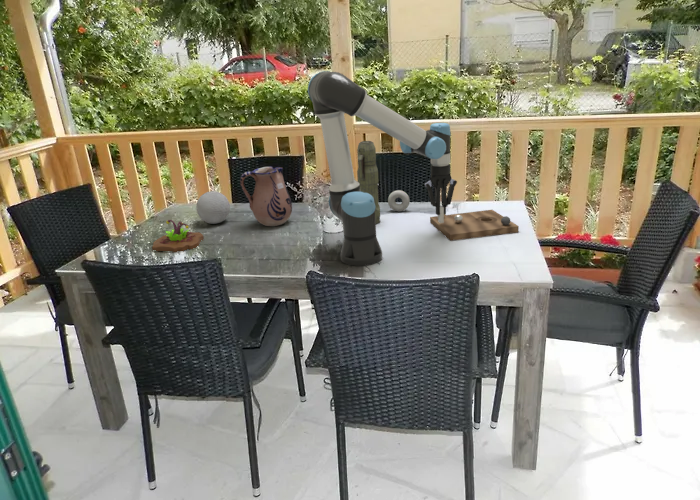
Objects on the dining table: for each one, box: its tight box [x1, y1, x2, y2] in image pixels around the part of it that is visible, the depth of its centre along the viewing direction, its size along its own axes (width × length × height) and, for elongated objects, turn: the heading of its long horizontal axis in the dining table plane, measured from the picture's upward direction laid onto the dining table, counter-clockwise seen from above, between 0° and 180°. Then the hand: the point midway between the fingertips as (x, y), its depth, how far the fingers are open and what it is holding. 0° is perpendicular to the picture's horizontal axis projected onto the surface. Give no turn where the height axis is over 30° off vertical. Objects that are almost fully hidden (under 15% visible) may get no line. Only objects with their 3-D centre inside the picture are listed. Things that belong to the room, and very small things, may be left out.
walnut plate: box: [429, 209, 520, 242], centre depth 212 cm, size 28×24×2 cm
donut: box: [387, 189, 410, 212], centre depth 238 cm, size 10×4×10 cm, turn 77°
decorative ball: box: [196, 190, 231, 225], centre depth 239 cm, size 15×15×15 cm
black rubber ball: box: [501, 216, 511, 225], centre depth 204 cm, size 4×4×4 cm
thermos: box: [356, 140, 381, 225], centre depth 221 cm, size 9×12×35 cm
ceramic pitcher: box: [239, 166, 293, 227], centre depth 230 cm, size 18×21×25 cm
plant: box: [152, 219, 205, 253], centre depth 216 cm, size 20×20×11 cm
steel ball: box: [454, 215, 463, 223], centre depth 210 cm, size 4×4×4 cm
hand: (440, 222), depth 210 cm, fingers closed
